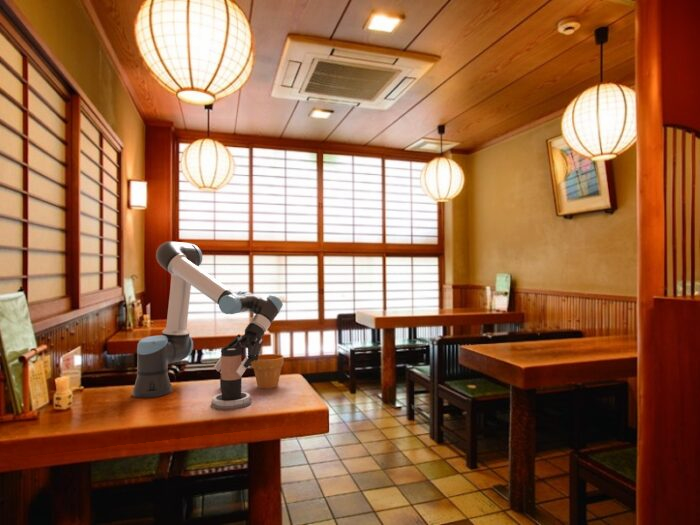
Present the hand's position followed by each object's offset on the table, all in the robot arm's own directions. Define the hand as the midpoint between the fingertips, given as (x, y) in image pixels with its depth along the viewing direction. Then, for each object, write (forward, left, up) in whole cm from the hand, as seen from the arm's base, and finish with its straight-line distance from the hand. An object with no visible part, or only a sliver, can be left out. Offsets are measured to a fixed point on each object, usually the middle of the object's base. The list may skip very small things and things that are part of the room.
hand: (227, 371), depth 164 cm
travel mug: (0, +2, -12) cm, 12 cm away
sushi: (-14, +21, -13) cm, 29 cm away
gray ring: (+1, +2, -13) cm, 13 cm away
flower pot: (0, +29, -13) cm, 32 cm away
